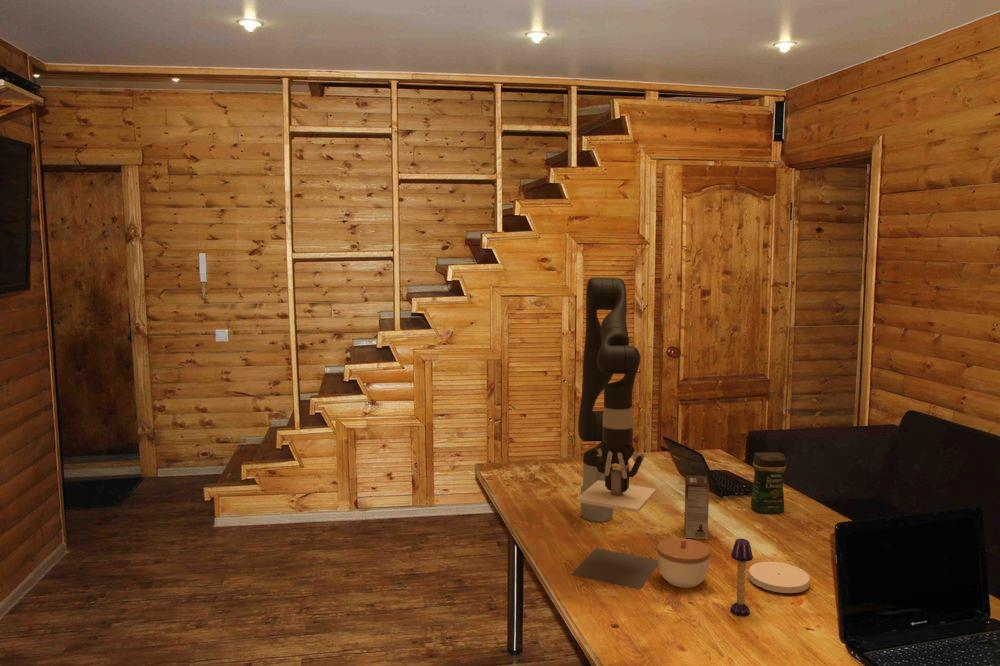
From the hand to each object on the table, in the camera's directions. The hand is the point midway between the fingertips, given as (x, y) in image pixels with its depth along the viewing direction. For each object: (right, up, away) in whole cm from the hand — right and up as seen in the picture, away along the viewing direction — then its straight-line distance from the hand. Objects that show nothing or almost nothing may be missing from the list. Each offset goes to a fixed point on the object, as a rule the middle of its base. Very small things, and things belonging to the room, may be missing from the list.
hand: (617, 490), depth 182 cm
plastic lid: (+39, -22, -6) cm, 45 cm away
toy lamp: (+25, -23, -19) cm, 39 cm away
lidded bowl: (+15, -22, -5) cm, 27 cm away
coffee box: (+27, -18, +25) cm, 41 cm away
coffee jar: (+55, -16, +44) cm, 72 cm away
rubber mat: (0, -21, +2) cm, 21 cm away
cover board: (0, -2, 0) cm, 2 cm away
